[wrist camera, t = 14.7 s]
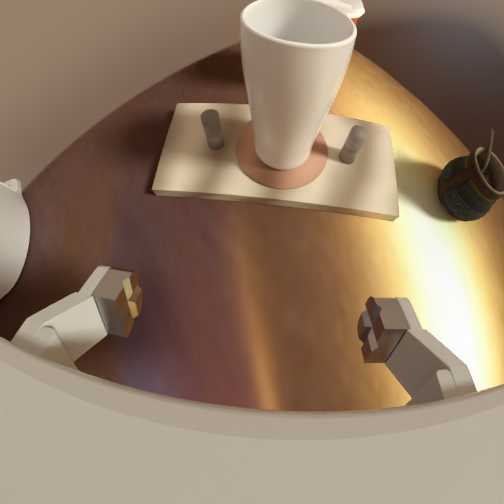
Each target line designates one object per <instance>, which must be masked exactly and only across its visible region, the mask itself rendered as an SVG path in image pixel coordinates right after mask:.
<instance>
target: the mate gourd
mask: <svg viewBox="0 0 504 504" xmlns="http://www.w3.org/2000/svg"><path fill="white" fill-rule="evenodd" d="M493 134H494V129H493V128H491V133H490V137H489V142H488V147H487V148H484V147H477V148H476V149H475V150H474V151H472V152H471V153H470V155H468V156H464V157H458V158H456V159H454V160H452V161H450V162H449V163H448V164H447V165H446V166H445V167H444V169H443V171H442V173H441V175H440V177H439V180H438V196H439V200H440V201H441V203H442V204H443V206H444V207H445V209H446V210H447V211H448V213H449V214H451V215H452V216H453V217H454V218H456V219H458V220H461V221H473V220H477V219H480V218H481V217H483V216H484V215H485V214H486V213H487V212H488V211H489V210H490V208H491V206H492V205H493V204H494V203H495V201H496V200H497V199H499V198H501V197H502V196H504V167H503V165H502V164H501V162H500V160H499V159H498V158H497V157H496V156H495V154H494V153H492V152H491V150H492V143H493Z"/></svg>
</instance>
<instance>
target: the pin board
mask: <svg viewBox="0 0 504 504" xmlns="http://www.w3.org/2000/svg"><path fill="white" fill-rule="evenodd" d="M152 190H153V192H154V193H155V194H156V195H157V196H173V197H188V198H202V199H215V200H227V201H238V202H249V203H259V204H269V205H278V206H287V207H296V208H304V209H312V210H320V211H328V212H335V213H342V214H349V215H356V216H363V217H370V218H376V219H382V220H389V221H394V220H395V219H396V218H398V217H399V206H398V192H397V181H396V171H395V163H394V155H393V148H392V141H391V135H390V129H389V127H388V126H384V125H380V124H376V123H372V122H367V121H363V120H358V119H353V118H348V117H343V116H338V115H332V114H327V116H326V118H325V120H324V122H323V125H322V127H321V129H320V131H319V133H318V135H317V137H316V139H315V142H314V144H313V146H312V149H311V152H310V155H309V157H308V159H307V160H306V161H305V162H304V163H303V164H302V165H300V166H299V167H296V168H294V169H289V170H280V169H275V168H272V167H270V166H268V165H266V164H265V163H264V162H263V161H262V160H261V159H260V158H259V157H258V155H257V153H256V150H255V145H254V132H253V126H252V120H251V114H250V108H249V105H245V104H220V103H182V104H177V107H176V110H175V112H174V115H173V118H172V121H171V124H170V128H169V131H168V134H167V137H166V140H165V144H164V147H163V150H162V154H161V157H160V161H159V164H158V168H157V172H156V175H155V179H154V183H153V187H152Z"/></svg>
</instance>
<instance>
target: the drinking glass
mask: <svg viewBox="0 0 504 504" xmlns="http://www.w3.org/2000/svg"><path fill="white" fill-rule="evenodd" d="M356 35H357V29H356V26H355V24H354V23H353V21H352V20H351V19H350V18H349V17H348V16H347V15H346V14H345V13H343V12H342V11H340V10H339V9H337V8H335V7H333V6H331V5H329V4H326V3H323V2H320V1H317V0H258V1H255V2H253V3H251V4H250V5H248V6H247V7H245V8H244V9H243V11H242V13H241V15H240V50H241V61H242V69H243V76H244V81H245V87H246V92H247V97H248V103H249V108H250V114H251V120H252V126H253V132H254V145H255V150H256V153H257V155H258V157H259V158H260V159H261V160H262V161H263V162H264V163H265V164H266V165H268V166H270V167H272V168H275V169H280V170H289V169H294V168H296V167H299V166H300V165H302V164H303V163H304V162H305V161H306V160H307V159H308V157H309V155H310V152H311V149H312V146H313V144H314V142H315V139H316V137H317V135H318V133H319V131H320V129H321V127H322V125H323V122H324V120H325V118H326V116H327V114H328V112H329V110H330V108H331V106H332V104H333V102H334V100H335V98H336V96H337V93H338V91H339V89H340V87H341V84H342V82H343V80H344V77H345V74H346V71H347V69H348V66H349V62H350V59H351V56H352V52H353V48H354V43H355V39H356Z"/></svg>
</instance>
